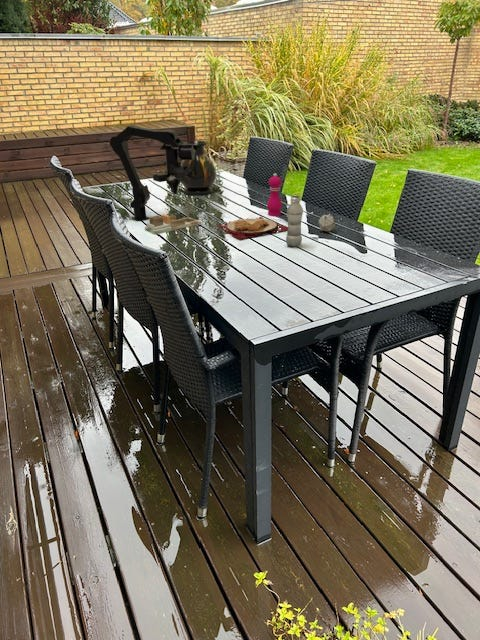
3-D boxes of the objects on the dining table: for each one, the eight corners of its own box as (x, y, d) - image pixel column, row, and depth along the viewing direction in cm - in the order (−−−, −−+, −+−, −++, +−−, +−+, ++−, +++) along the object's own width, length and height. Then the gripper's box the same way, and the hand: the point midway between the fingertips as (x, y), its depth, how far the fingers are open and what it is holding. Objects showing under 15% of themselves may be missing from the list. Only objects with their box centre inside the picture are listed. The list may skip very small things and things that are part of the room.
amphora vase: (215, 196, 276) (213, 144, 263) (177, 197, 276) (174, 145, 263) (217, 188, 295) (215, 139, 282) (182, 188, 295) (178, 139, 282)
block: (149, 224, 219) (148, 217, 218) (158, 222, 222) (157, 215, 220) (154, 227, 216) (154, 219, 214) (163, 225, 219) (162, 217, 217)
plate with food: (290, 232, 218) (290, 224, 216) (239, 241, 206) (239, 232, 204) (260, 220, 237) (261, 212, 235) (212, 227, 225) (212, 219, 223)
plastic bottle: (303, 243, 201) (305, 195, 192) (299, 249, 195) (301, 199, 186) (288, 242, 203) (289, 194, 194) (283, 247, 197) (285, 198, 188)
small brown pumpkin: (329, 239, 218) (343, 221, 215) (324, 237, 210) (339, 219, 207) (314, 226, 220) (328, 209, 217) (309, 225, 212) (324, 206, 209)
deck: (145, 230, 221) (144, 221, 219) (189, 220, 234) (188, 211, 233) (155, 234, 215) (154, 225, 213) (199, 224, 228) (199, 215, 226)
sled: (147, 226, 219) (146, 217, 217) (164, 222, 224) (163, 213, 222) (153, 229, 215) (152, 220, 213) (171, 225, 220) (170, 216, 218)
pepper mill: (280, 216, 237) (281, 174, 228) (266, 216, 239) (266, 174, 230) (282, 212, 244) (283, 172, 234) (268, 212, 245) (268, 171, 236)
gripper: (163, 164, 211) (166, 200, 218) (199, 159, 221) (200, 193, 228) (150, 161, 219) (154, 196, 226) (185, 156, 229) (187, 190, 236)
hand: (174, 194), depth 229 cm, fingers closed
